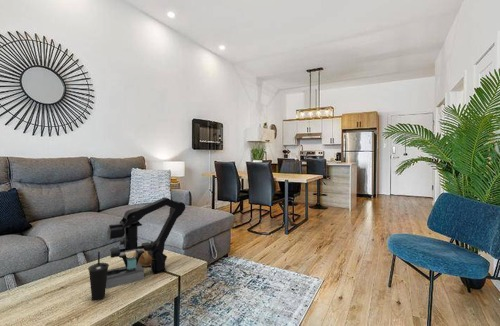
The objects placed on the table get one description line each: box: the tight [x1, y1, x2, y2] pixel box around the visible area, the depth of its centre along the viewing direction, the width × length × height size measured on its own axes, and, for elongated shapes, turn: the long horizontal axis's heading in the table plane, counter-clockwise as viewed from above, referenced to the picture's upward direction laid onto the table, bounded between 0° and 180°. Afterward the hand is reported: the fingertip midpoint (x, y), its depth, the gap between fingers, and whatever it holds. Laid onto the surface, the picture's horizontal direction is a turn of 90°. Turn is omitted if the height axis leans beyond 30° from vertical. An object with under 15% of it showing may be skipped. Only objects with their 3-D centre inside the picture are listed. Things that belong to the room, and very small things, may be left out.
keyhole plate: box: [106, 263, 145, 290], centre depth 125 cm, size 18×9×5 cm, turn 126°
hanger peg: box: [127, 256, 136, 270], centre depth 127 cm, size 4×4×8 cm
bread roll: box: [132, 250, 153, 267], centre depth 145 cm, size 10×15×8 cm, turn 47°
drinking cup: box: [87, 251, 110, 302], centre depth 109 cm, size 8×8×20 cm
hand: (131, 266), depth 127 cm, fingers closed on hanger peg, 4 cm apart
